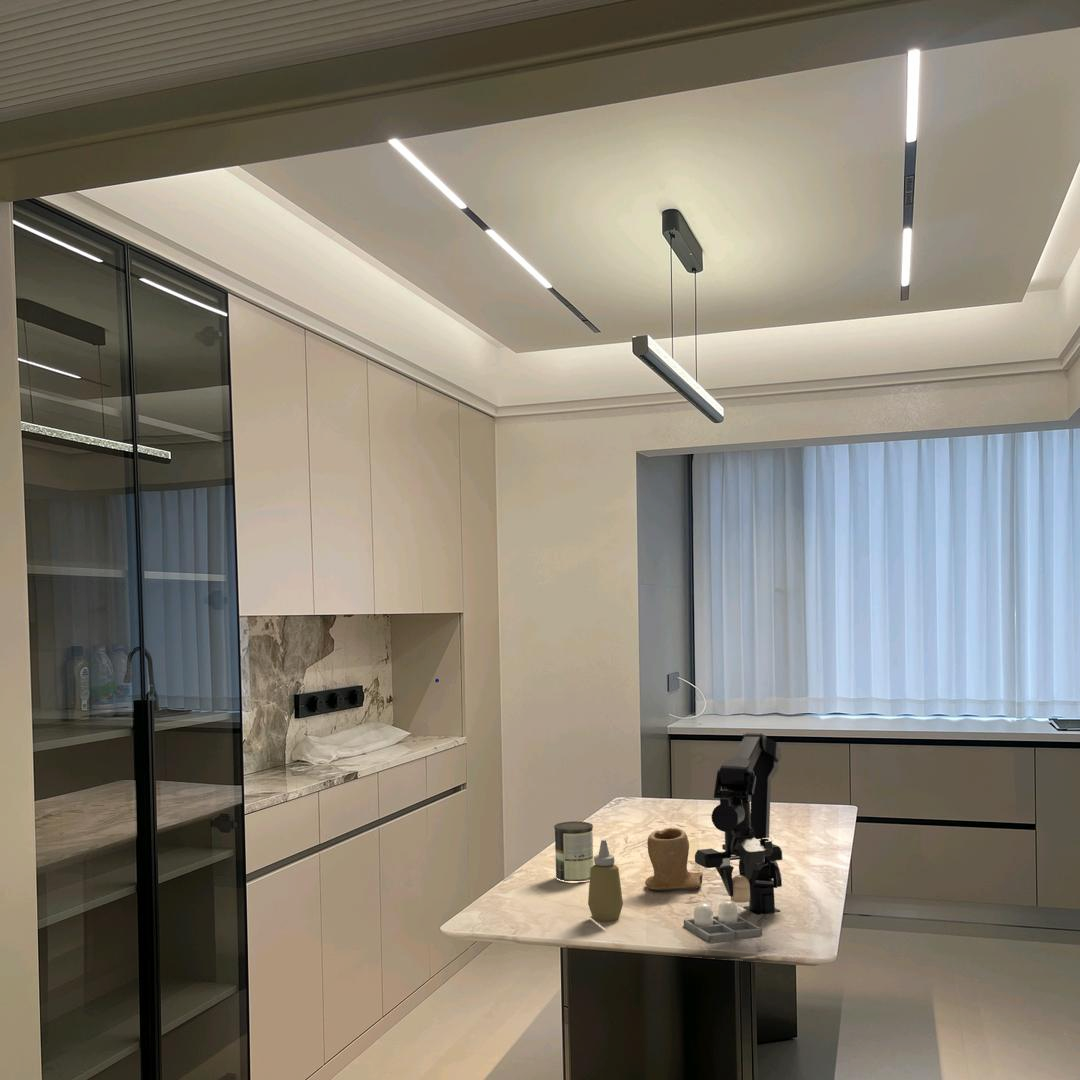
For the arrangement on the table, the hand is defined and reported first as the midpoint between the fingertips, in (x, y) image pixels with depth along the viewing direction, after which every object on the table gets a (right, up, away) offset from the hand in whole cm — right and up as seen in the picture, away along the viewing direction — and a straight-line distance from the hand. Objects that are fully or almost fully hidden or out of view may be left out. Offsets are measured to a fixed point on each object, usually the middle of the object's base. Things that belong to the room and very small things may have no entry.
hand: (740, 895), depth 232 cm
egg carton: (-4, -9, +1) cm, 10 cm away
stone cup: (-9, -12, +38) cm, 41 cm away
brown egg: (0, -1, 0) cm, 1 cm away
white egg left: (-2, -8, +5) cm, 10 cm away
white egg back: (-7, -8, +3) cm, 12 cm away
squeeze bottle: (-28, -10, +13) cm, 33 cm away
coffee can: (-34, -13, +51) cm, 63 cm away
